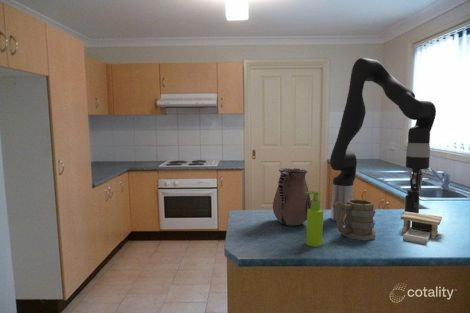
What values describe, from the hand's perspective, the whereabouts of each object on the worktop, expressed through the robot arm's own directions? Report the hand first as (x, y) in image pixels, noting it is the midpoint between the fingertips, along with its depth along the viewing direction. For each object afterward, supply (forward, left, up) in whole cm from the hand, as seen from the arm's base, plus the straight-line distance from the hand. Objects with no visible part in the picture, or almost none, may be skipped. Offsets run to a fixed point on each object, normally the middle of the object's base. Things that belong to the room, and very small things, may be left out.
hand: (415, 201), depth 122 cm
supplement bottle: (+21, +53, -17) cm, 59 cm away
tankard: (-20, +9, -17) cm, 28 cm away
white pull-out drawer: (+6, +11, -17) cm, 21 cm away
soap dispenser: (-37, -3, -17) cm, 41 cm away
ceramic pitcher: (-44, +22, -17) cm, 52 cm away
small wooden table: (+11, +19, -17) cm, 27 cm away
